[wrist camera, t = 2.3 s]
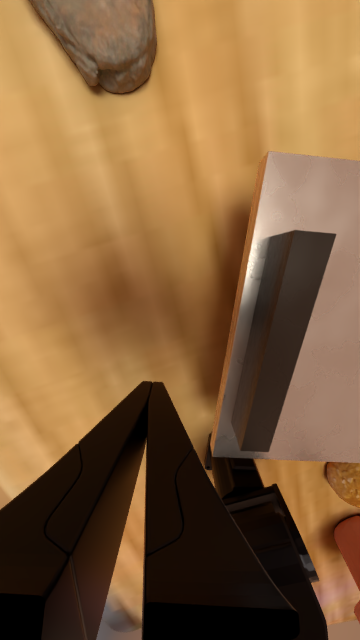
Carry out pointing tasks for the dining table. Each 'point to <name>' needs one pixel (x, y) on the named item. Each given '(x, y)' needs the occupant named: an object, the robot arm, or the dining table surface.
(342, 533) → the decorative flower
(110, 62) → the elongated rock
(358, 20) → the dining table surface
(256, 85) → the dining table surface
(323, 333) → the lid
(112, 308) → the dining table surface
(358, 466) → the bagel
